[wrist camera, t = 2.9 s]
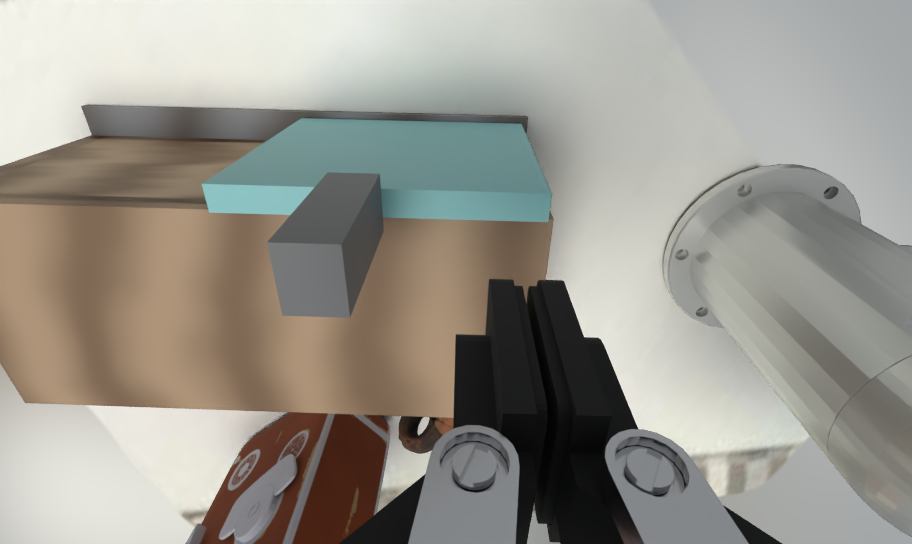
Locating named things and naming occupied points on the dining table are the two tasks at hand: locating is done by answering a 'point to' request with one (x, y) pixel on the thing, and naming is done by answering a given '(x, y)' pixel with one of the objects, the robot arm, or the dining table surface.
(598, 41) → the dining table surface
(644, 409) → the dining table surface
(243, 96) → the dining table surface
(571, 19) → the dining table surface
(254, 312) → the cabinet
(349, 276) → the door
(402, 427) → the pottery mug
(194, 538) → the cine camera
